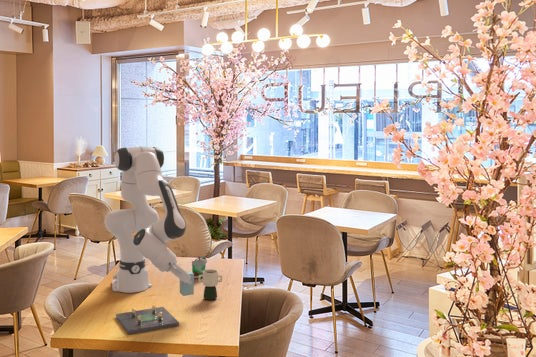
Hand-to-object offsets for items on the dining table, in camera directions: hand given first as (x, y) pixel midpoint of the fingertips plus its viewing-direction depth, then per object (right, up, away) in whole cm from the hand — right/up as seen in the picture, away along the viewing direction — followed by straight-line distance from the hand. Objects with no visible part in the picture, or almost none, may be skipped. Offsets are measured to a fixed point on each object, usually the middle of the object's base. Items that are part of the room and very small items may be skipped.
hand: (188, 281), depth 219 cm
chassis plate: (-16, -15, -7) cm, 23 cm away
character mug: (+7, -13, +22) cm, 26 cm away
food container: (-2, -9, +56) cm, 57 cm away
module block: (-1, -5, 0) cm, 5 cm away
